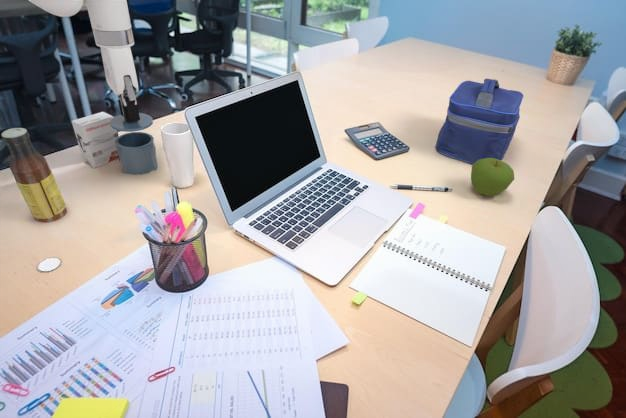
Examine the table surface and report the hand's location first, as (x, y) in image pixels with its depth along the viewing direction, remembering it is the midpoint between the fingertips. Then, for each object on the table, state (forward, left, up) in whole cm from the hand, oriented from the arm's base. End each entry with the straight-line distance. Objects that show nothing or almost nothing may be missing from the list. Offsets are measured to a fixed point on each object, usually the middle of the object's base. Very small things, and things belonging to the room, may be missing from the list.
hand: (130, 117), depth 94 cm
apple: (+76, -53, -14) cm, 94 cm away
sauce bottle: (-22, -12, -14) cm, 29 cm away
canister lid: (0, 0, -2) cm, 2 cm away
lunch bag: (+97, -33, -14) cm, 103 cm away
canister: (0, 0, -14) cm, 14 cm away
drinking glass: (+7, -12, -14) cm, 20 cm away
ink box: (-7, +8, -14) cm, 18 cm away
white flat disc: (-24, -28, -14) cm, 40 cm away
